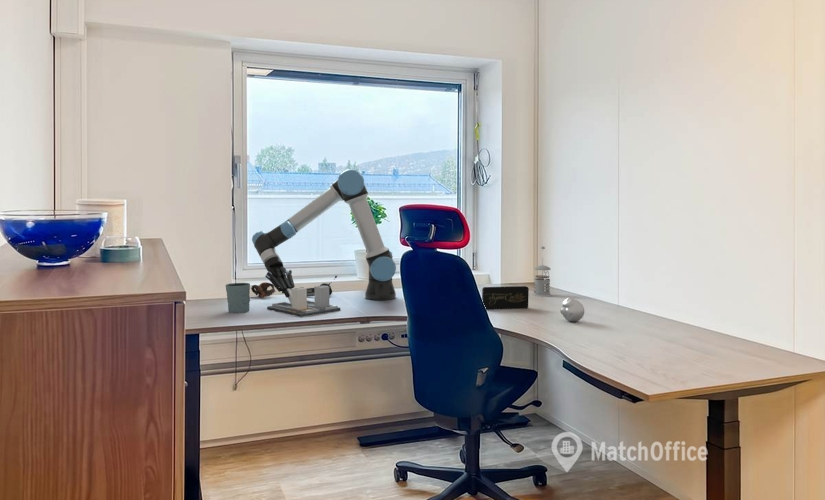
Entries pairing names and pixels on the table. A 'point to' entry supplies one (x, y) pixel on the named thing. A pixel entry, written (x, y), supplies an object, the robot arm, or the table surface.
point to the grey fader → (322, 296)
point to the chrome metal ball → (572, 309)
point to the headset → (312, 290)
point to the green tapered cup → (238, 297)
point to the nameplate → (505, 297)
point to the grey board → (310, 310)
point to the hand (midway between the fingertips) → (293, 302)
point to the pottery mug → (263, 289)
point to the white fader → (299, 298)
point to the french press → (542, 282)
